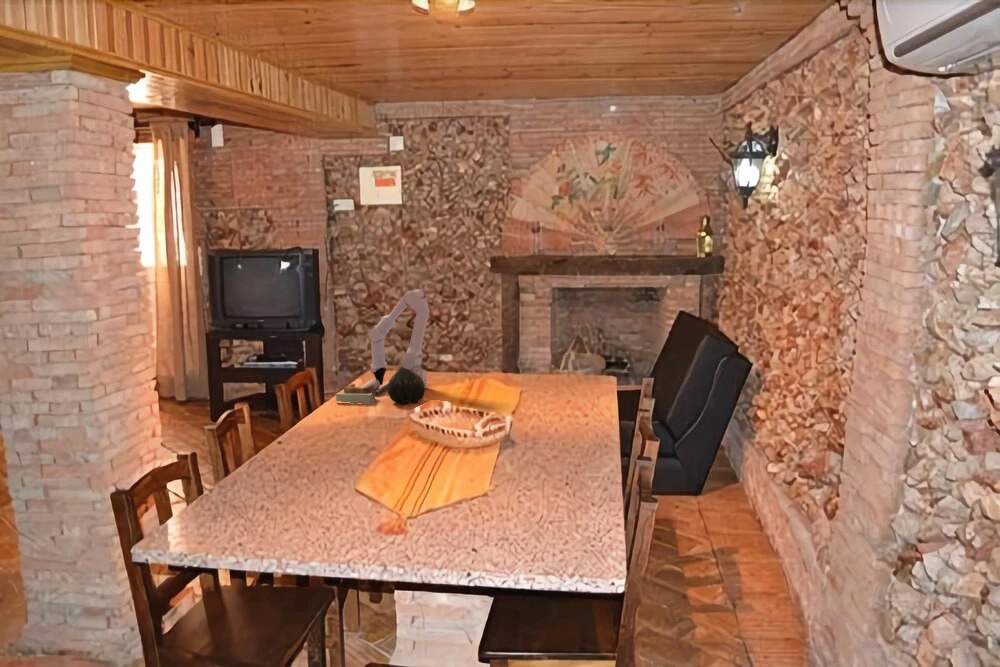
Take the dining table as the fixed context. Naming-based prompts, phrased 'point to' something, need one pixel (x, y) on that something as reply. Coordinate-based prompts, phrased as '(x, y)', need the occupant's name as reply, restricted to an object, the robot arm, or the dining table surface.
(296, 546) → the dining table surface
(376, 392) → the guide rails
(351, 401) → the wall
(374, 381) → the tube
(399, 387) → the squash
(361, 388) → the socket block
